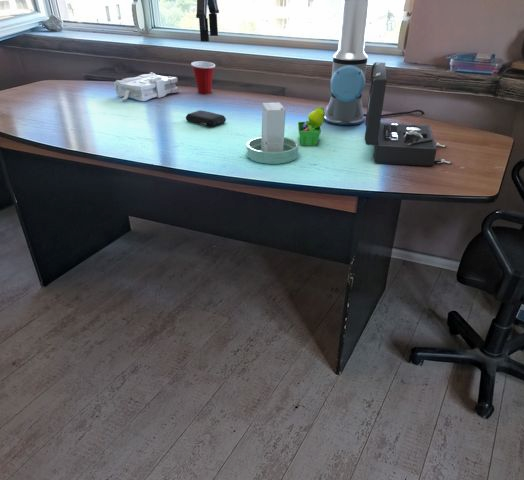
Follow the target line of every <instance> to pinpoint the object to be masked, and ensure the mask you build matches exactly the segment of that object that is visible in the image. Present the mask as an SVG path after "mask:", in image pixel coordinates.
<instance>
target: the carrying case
mask: <svg viewBox="0 0 524 480" xmlns="http://www.w3.org/2000/svg"><path fill="white" fill-rule="evenodd" d="M185 120H186V121H187V123H191V124H195V125H199V126H202V127H207V128H214V127H217V126H221V125H224V124H225V123H226V121H227V117H225V116H224V115H223V114H219V113H215V112H211V111H206V110H196V111H193V112H190V113H189V112H188V113H187V114H186V116H185Z"/></svg>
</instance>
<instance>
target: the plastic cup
mask: <svg viewBox="0 0 524 480" xmlns="http://www.w3.org/2000/svg"><path fill="white" fill-rule="evenodd" d="M190 65H191V67H192V70H193V73H194V74H193V75H194V80H195V84H196V89H197V92H198V93H199V95H200V94H201V95H209V94H211V93H212V85H213V78H214V77H213V75H214V71H215V70H214V69H215V67H216V64H215V63H214V62H210V61H204V60H200V61H199V60H198V61H192V62H191V64H190Z"/></svg>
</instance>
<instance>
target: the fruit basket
mask: <svg viewBox="0 0 524 480" xmlns="http://www.w3.org/2000/svg"><path fill="white" fill-rule="evenodd" d="M325 112H326V111H325V108H324V107H322V106H318V107H316V109H315V110H313V111H311V112H309V114H308V116H307V119H308V120H306V121H298V122H297V127H298V128H297V129H298V134H299V139H300V146H313V147H314V146H315V147H316V146H317V144H318V141H319V137H320V134H321V133H322V128H321V126H322V125H323V123H324V121H325V120H324V117H325Z"/></svg>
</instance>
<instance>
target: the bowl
mask: <svg viewBox="0 0 524 480" xmlns="http://www.w3.org/2000/svg"><path fill="white" fill-rule="evenodd" d="M246 156H247V158H248V159H249V160H251V161H253V162H256V163H261V164H268V165H279V164H285V163H289V162H293V161H294V160H297V158H298V156H299V143H298V141H296V140H294V139H292V138H289V137H285V136H284V146H283V152H264V151H261V136H260V137H259V136H258V137H255V138H252V139H250V140H249V141H247V142H246Z"/></svg>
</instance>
